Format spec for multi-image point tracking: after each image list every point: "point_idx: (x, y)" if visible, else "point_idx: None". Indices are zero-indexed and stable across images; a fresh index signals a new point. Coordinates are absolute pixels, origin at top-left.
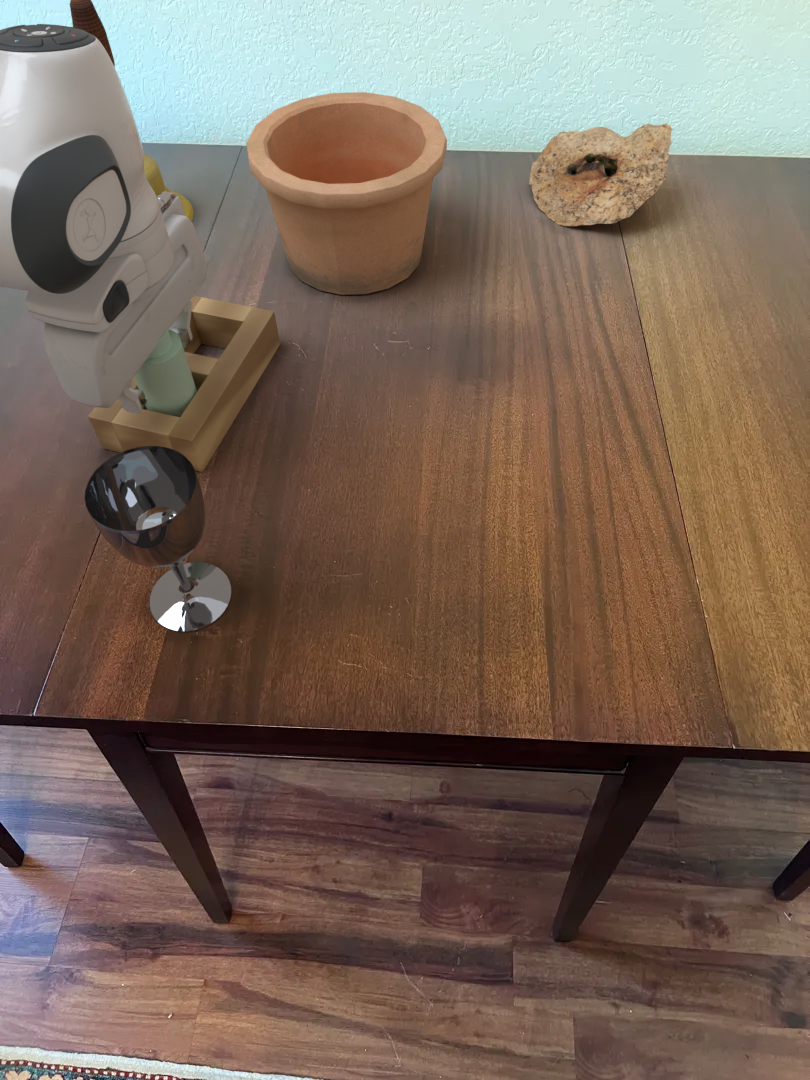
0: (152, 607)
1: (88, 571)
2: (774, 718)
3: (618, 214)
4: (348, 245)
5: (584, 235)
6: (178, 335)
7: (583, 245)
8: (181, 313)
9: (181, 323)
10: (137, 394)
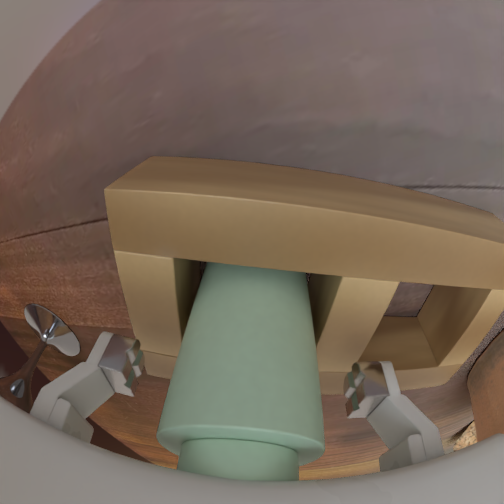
0: (26, 308)
1: (11, 242)
2: (161, 465)
3: (458, 444)
4: (486, 423)
5: (461, 428)
6: (351, 410)
7: (453, 431)
8: (394, 438)
9: (379, 421)
10: (118, 389)
